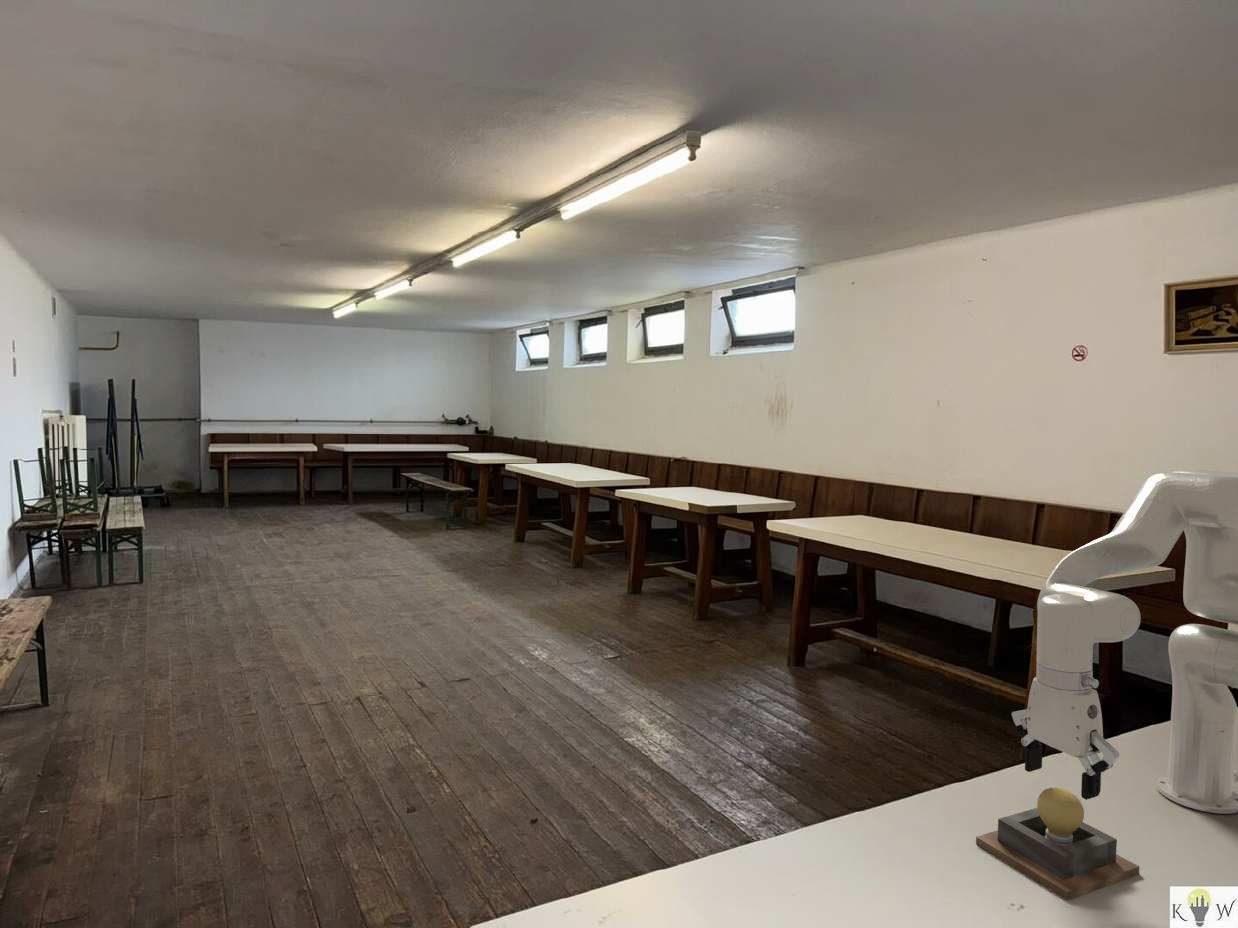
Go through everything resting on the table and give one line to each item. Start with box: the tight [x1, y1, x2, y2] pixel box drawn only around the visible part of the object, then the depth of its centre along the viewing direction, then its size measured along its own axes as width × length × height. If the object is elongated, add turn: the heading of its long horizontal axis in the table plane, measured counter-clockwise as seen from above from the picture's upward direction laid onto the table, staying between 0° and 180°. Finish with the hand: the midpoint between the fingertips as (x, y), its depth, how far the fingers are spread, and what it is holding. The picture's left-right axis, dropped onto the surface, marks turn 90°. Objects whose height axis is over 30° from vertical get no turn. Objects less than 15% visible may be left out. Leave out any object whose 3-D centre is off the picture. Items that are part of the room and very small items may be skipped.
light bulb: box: [1036, 787, 1085, 846], centre depth 123 cm, size 6×6×10 cm
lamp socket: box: [975, 807, 1141, 901], centre depth 123 cm, size 16×16×5 cm
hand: (1060, 782), depth 123 cm, fingers open, 9 cm apart
